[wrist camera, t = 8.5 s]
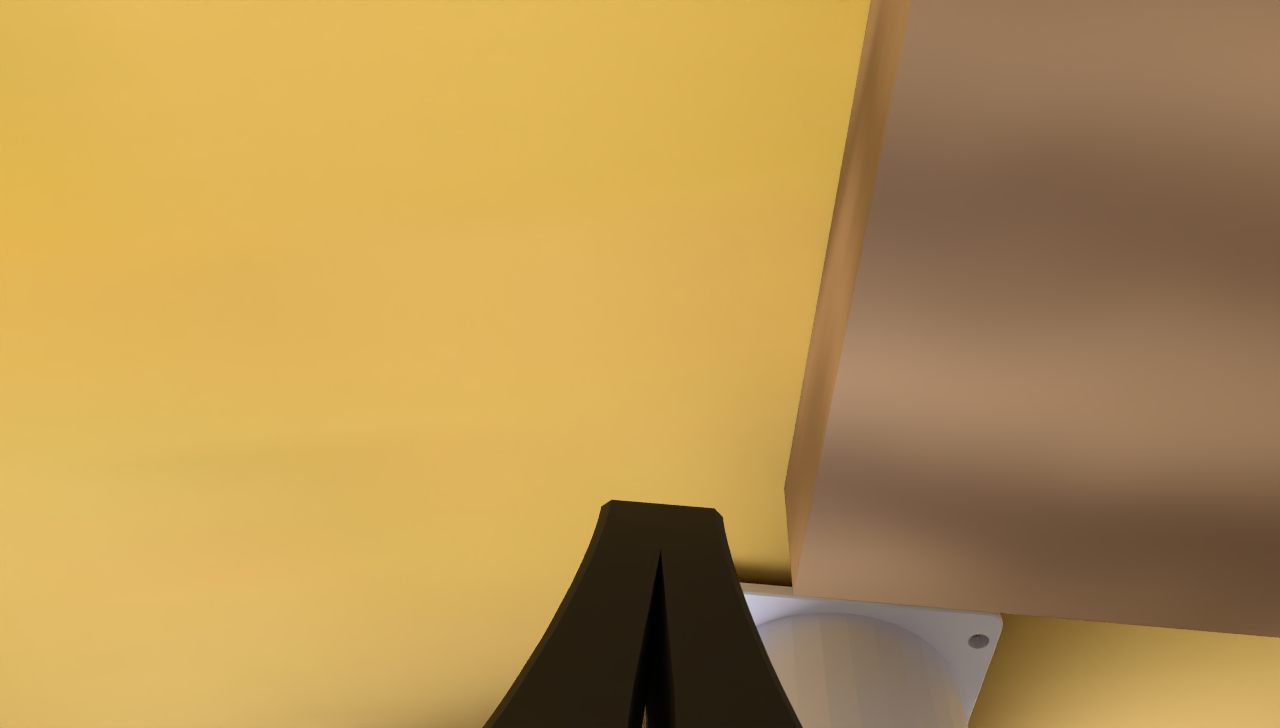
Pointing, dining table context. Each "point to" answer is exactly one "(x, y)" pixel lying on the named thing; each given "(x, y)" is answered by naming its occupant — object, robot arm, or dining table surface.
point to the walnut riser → (1052, 318)
